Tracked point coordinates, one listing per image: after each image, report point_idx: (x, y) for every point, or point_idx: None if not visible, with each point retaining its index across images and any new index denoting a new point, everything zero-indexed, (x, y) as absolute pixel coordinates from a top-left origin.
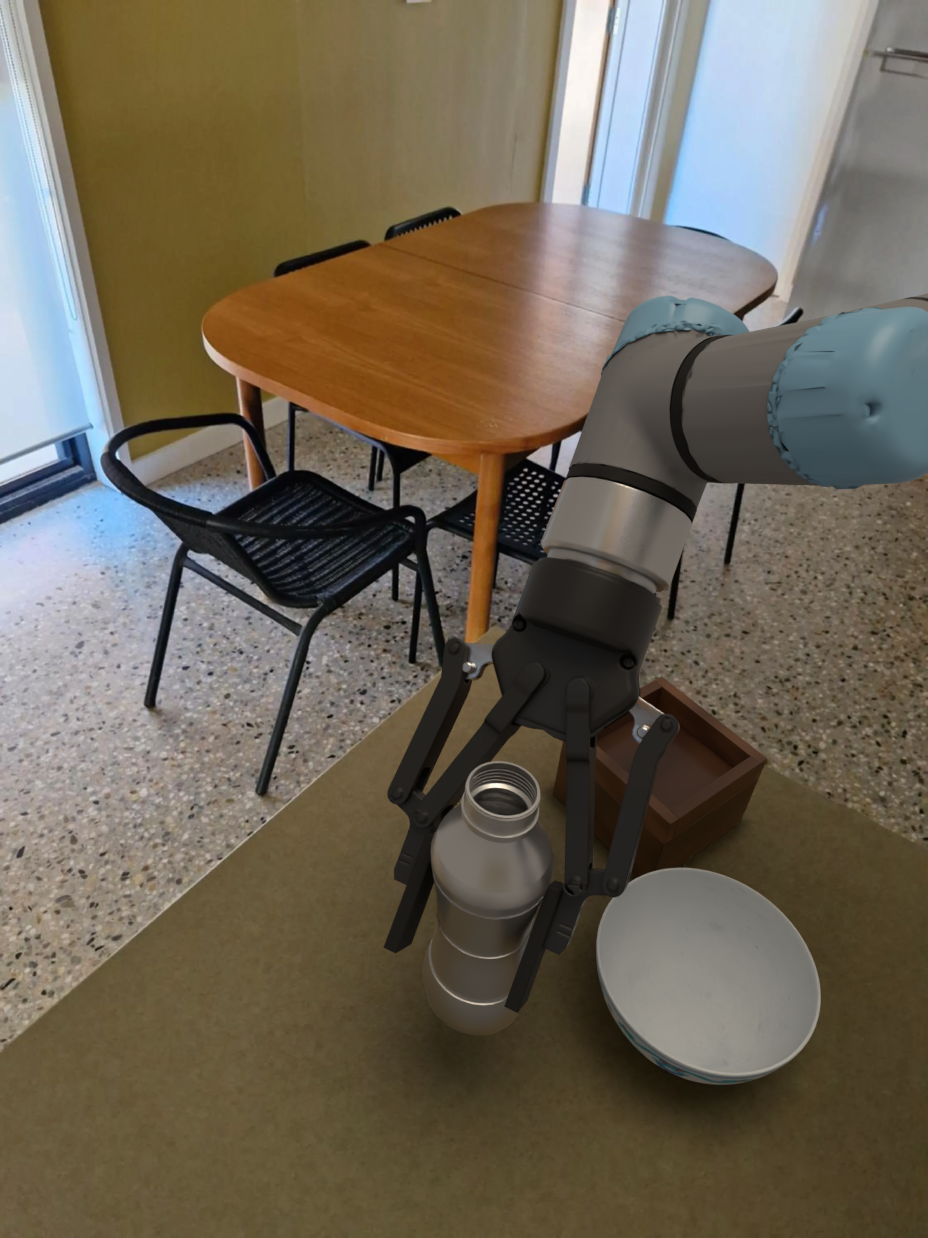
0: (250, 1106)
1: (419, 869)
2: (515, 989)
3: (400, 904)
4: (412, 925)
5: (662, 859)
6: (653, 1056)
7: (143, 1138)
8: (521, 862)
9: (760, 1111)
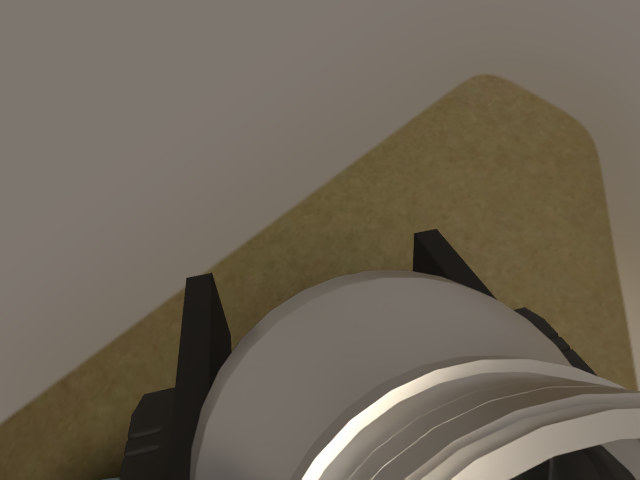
0: (428, 213)
1: None
2: (203, 297)
3: (474, 274)
4: None
5: None
6: (116, 478)
7: (469, 149)
8: (255, 447)
9: None
